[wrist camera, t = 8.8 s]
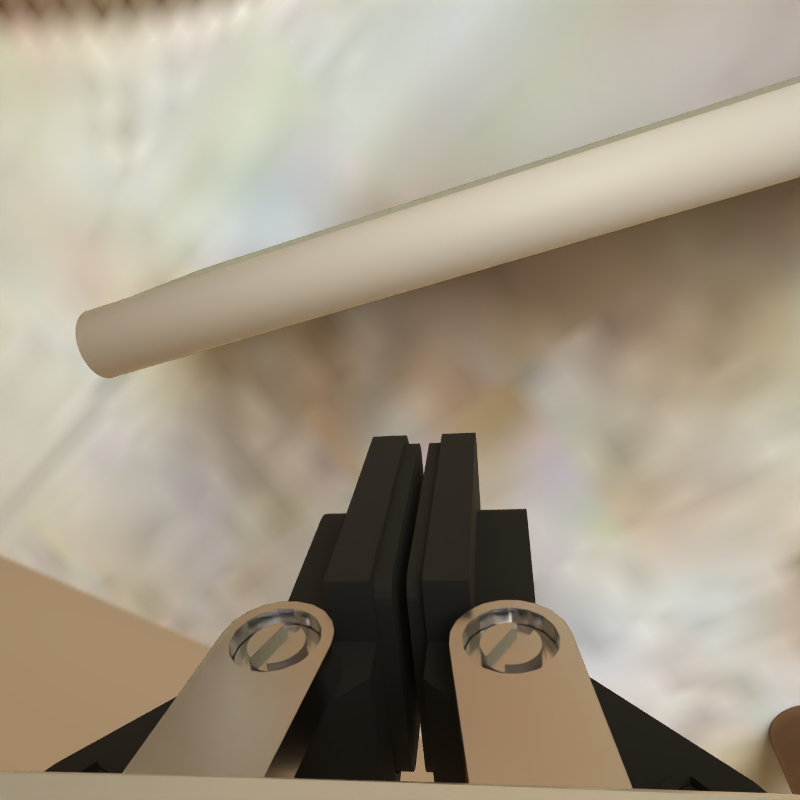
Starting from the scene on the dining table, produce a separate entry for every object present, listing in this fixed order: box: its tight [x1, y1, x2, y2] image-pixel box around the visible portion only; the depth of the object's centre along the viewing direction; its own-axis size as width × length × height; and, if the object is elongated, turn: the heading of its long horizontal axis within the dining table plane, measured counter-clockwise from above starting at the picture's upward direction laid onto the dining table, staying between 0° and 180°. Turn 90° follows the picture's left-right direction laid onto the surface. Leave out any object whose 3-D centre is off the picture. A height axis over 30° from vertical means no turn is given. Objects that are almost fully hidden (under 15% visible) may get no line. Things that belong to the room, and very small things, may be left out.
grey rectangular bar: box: [76, 76, 800, 378], centre depth 17 cm, size 18×2×7 cm, turn 107°
